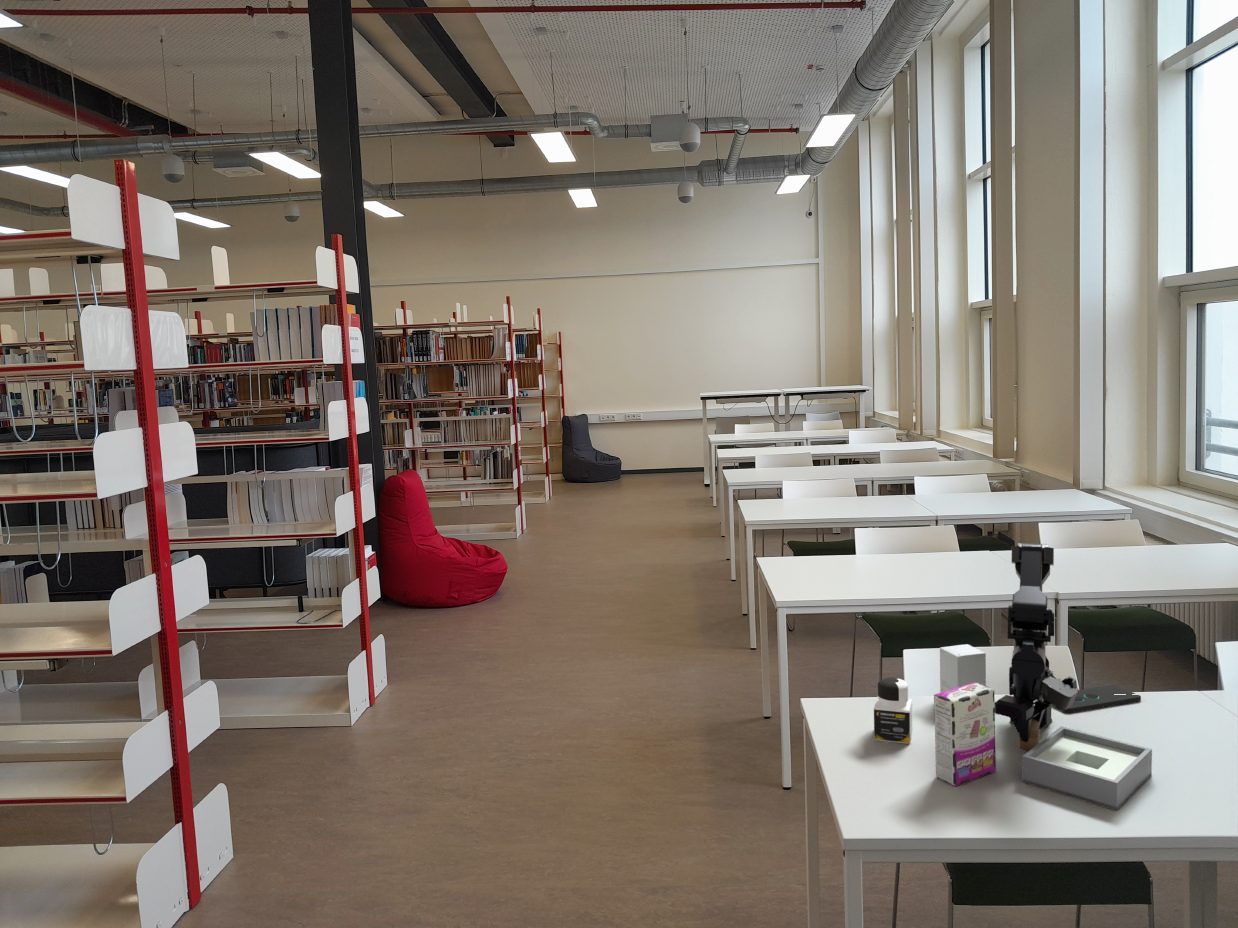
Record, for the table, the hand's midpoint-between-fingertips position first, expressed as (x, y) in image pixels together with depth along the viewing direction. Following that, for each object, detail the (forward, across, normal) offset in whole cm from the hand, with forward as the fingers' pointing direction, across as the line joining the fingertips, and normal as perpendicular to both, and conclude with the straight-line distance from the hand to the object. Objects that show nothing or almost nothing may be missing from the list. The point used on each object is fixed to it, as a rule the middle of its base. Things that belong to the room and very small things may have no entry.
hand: (1029, 738), depth 177 cm
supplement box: (+2, +14, +20) cm, 25 cm away
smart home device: (+3, +33, 0) cm, 33 cm away
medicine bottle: (+2, -12, +23) cm, 26 cm away
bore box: (+2, -6, -13) cm, 14 cm away
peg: (+2, 0, 0) cm, 2 cm away
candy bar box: (+2, -19, +4) cm, 20 cm away
